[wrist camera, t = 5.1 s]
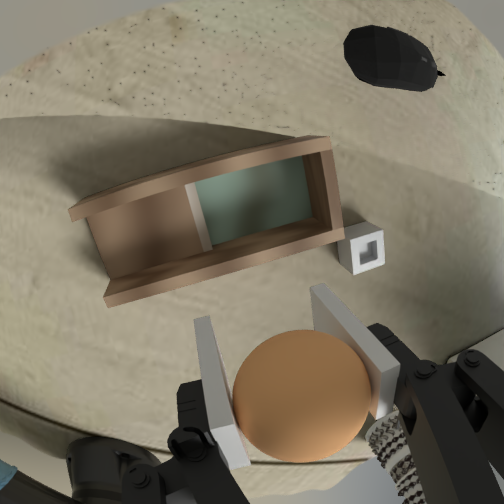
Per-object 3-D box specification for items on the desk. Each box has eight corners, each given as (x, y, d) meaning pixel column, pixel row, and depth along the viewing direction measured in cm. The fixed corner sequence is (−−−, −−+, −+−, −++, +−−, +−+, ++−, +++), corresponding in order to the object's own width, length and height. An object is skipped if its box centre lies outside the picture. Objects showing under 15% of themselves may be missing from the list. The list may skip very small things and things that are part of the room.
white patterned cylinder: (394, 437, 49) (456, 531, 26) (355, 447, 46) (416, 555, 23) (416, 404, 46) (492, 502, 23) (376, 413, 44) (454, 530, 21)
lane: (116, 283, 28) (108, 308, 24) (84, 197, 24) (67, 209, 20) (323, 223, 30) (345, 238, 26) (307, 135, 27) (329, 136, 23)
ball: (236, 410, 14) (263, 499, 9) (208, 325, 12) (231, 429, 7) (337, 377, 14) (387, 452, 10) (333, 289, 12) (406, 365, 8)
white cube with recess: (339, 263, 32) (353, 275, 29) (335, 230, 30) (350, 239, 28) (369, 253, 32) (384, 263, 29) (366, 221, 31) (383, 229, 28)
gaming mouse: (449, 102, 29) (474, 103, 25) (341, 82, 26) (363, 76, 22) (446, 53, 26) (470, 49, 23) (337, 23, 24) (358, 11, 20)
